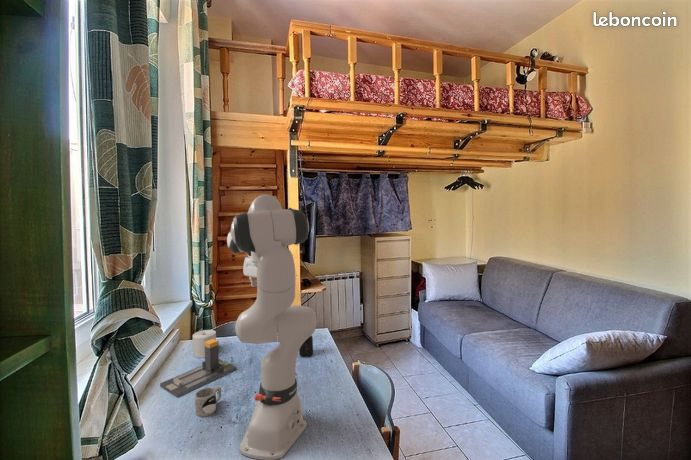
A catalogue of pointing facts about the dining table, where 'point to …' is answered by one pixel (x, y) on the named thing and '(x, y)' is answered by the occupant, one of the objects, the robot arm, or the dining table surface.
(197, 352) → the toilet tissue
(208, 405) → the mug
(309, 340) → the supplement bottle
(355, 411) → the dining table surface
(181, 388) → the breaker panel
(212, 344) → the breaker handle
